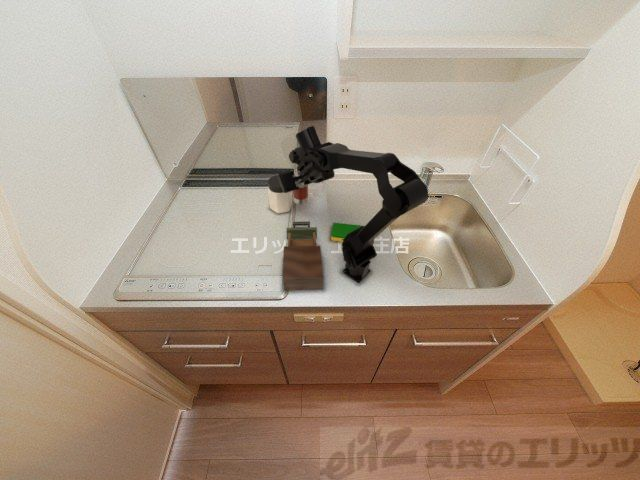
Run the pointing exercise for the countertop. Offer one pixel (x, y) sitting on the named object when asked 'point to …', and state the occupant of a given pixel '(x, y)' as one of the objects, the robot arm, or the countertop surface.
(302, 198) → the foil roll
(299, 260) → the cabinet
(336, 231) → the dish sponge
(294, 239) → the drawer
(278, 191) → the jar
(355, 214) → the countertop surface
